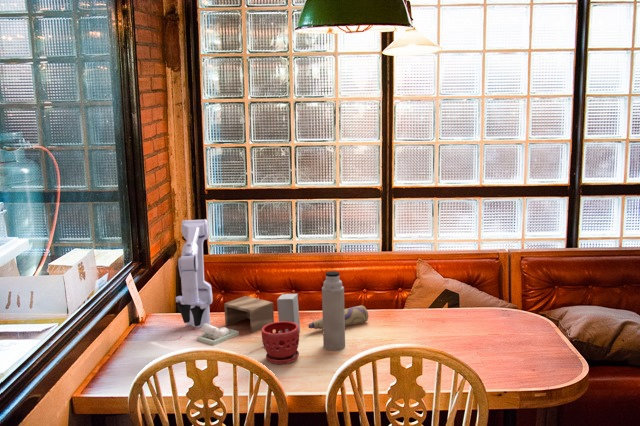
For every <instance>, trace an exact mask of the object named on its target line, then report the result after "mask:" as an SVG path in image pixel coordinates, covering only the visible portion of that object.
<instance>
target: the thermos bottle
mask: <svg viewBox="0 0 640 426" xmlns="http://www.w3.org/2000/svg"><path fill="white" fill-rule="evenodd" d="M321 305H322V306H321V308H322V309H321V310H322V318H323V328H322V335H323V336H322V337H323V348H324V349H325V350H328V351H340V350H344V348H346V328H345V327H346V326H345V314H344V309H345V286H343V281H342V280H341V279H340V272H339V271H335V270H333V271H332V270H331V271H326V272H325V280H324V281H323V286H322V287H321Z"/></svg>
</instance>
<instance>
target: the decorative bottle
mask: <svg viewBox="0 0 640 426" xmlns="http://www.w3.org/2000/svg"><path fill="white" fill-rule="evenodd" d="M344 314H345V327H349V326H352V325H355V324H361V323H365V322H368V320H369V312H368V310H367V308H366V306H364V305H357V306H352V307H349V308H344ZM307 327H308V328H309V329H315V330H317V329H318V330H319V329H320V330H321V329H322V330H323V317H322V318H319V319H317V320H314V321H312V322H311V323H310V322H309V323H308V326H307Z"/></svg>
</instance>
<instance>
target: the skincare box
mask: <svg viewBox="0 0 640 426" xmlns="http://www.w3.org/2000/svg"><path fill="white" fill-rule="evenodd" d="M298 294H299V293H282V294H281V295H280V296H279V297H278V298H277V299H276V302H277V303H276V305H277V315H278V322H281V321H288V322H294V323H296V324H297V325H298V326H299V334H300V333H301V326H300V311H299V298H298V297H299V295H298ZM285 331H286V332H288V331H289V330H288V329H285ZM279 333H282V331H281V330H280V331H279Z"/></svg>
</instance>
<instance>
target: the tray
mask: <svg viewBox="0 0 640 426" xmlns="http://www.w3.org/2000/svg"><path fill="white" fill-rule="evenodd" d="M223 327H224V326H221V327H217V328H218V329H219V330H220V329H221V328H223ZM226 328H227V327H226ZM227 329H228V330H229V335H226V336H224V337H222V338H219V339H217V340H214V339H213V340H212V339H210V337H212V336H211V335H208V334H206V333H204V334H201V335H199V336H197V337H196V338H197V341H199V342H201V343H204V344H209V345H212V346H216V345H217V344H221V343H223V342H225V341H228V340H230V339H232V338H235V337H237V336H239V335H240V332H239V330H236V329H231V328H227Z"/></svg>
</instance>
